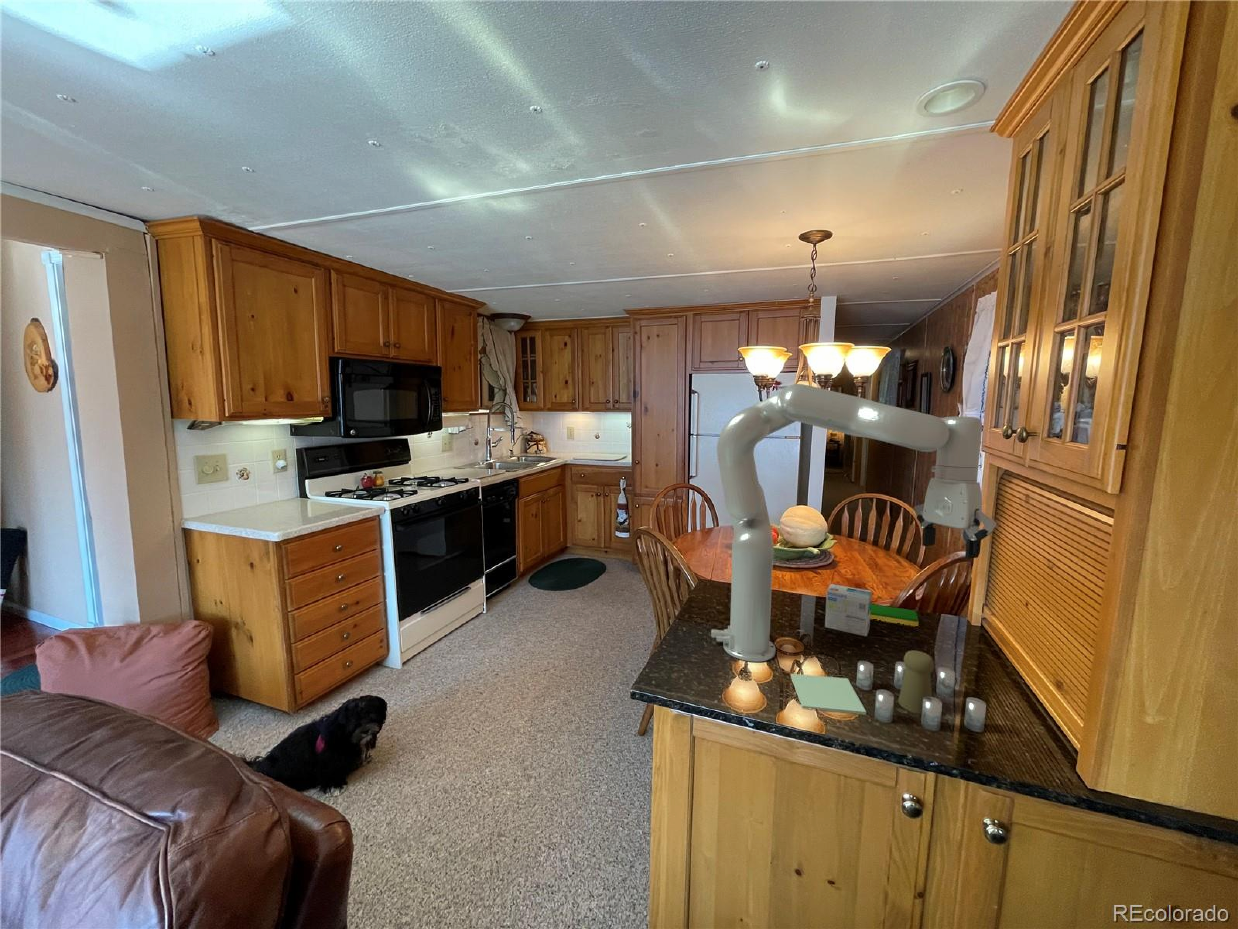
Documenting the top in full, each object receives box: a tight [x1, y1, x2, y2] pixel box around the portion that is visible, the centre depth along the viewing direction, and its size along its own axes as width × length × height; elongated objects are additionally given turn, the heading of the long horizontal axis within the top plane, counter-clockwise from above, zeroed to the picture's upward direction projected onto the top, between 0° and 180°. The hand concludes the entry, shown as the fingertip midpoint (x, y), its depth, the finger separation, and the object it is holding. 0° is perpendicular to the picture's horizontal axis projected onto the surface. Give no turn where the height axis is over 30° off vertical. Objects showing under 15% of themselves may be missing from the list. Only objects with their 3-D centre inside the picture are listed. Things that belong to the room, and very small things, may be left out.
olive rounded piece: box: [897, 650, 935, 715], centre depth 98 cm, size 6×6×11 cm
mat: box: [790, 673, 867, 716], centre depth 102 cm, size 12×12×1 cm
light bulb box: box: [824, 583, 872, 637], centre depth 133 cm, size 11×7×11 cm, turn 58°
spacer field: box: [855, 660, 987, 733], centre depth 98 cm, size 19×16×5 cm
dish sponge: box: [870, 603, 920, 627], centre depth 140 cm, size 7×14×2 cm, turn 65°
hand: (949, 551), depth 106 cm, fingers open, 9 cm apart
